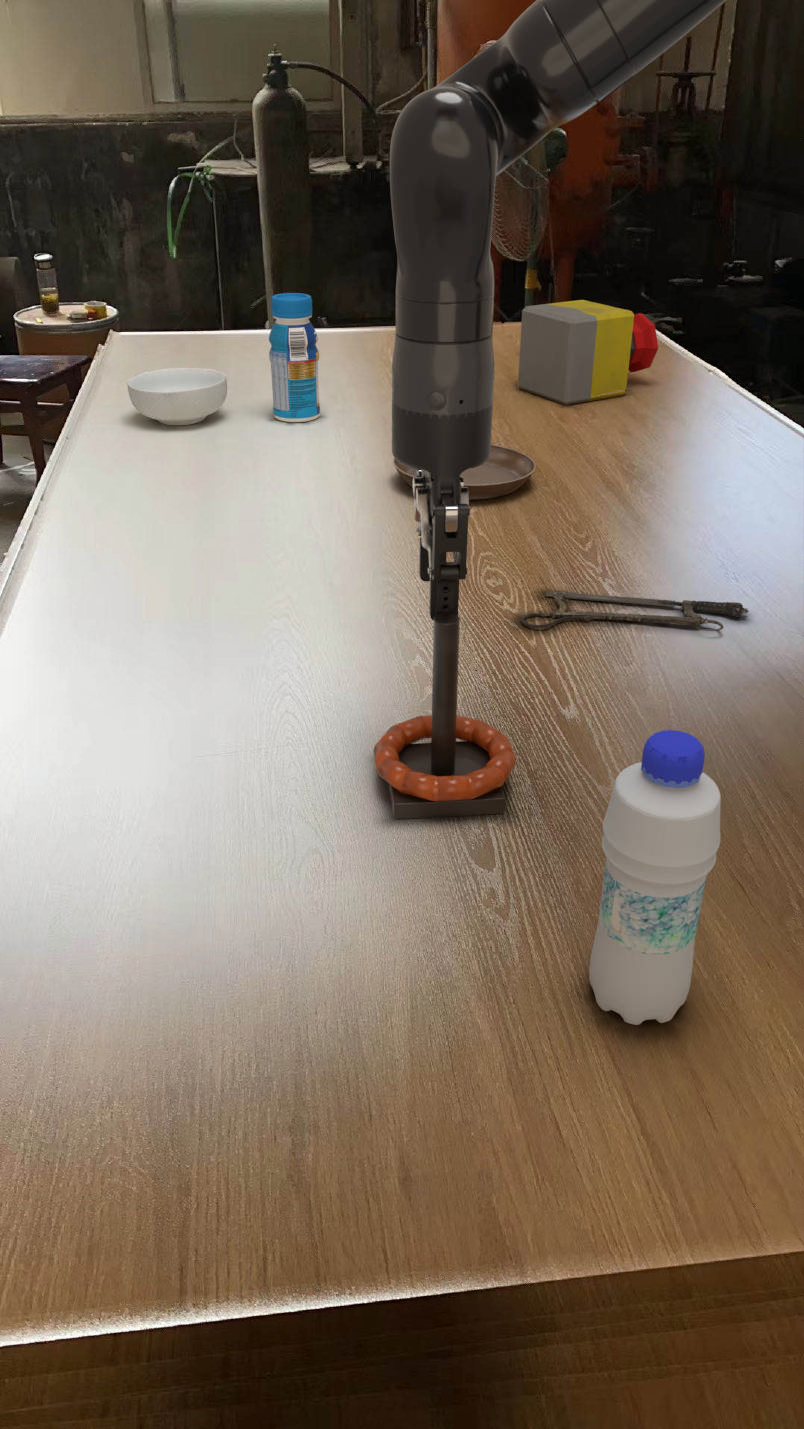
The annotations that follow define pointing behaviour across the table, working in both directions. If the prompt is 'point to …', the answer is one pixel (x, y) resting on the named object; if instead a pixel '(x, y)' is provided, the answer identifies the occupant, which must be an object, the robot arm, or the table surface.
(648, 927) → the bottle
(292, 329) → the beverage bottle
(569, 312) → the emergency stop button
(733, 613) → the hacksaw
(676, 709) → the table surface
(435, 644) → the stand
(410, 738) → the ring
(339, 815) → the table surface
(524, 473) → the plant saucer
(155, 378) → the cereal bowl
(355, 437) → the table surface
